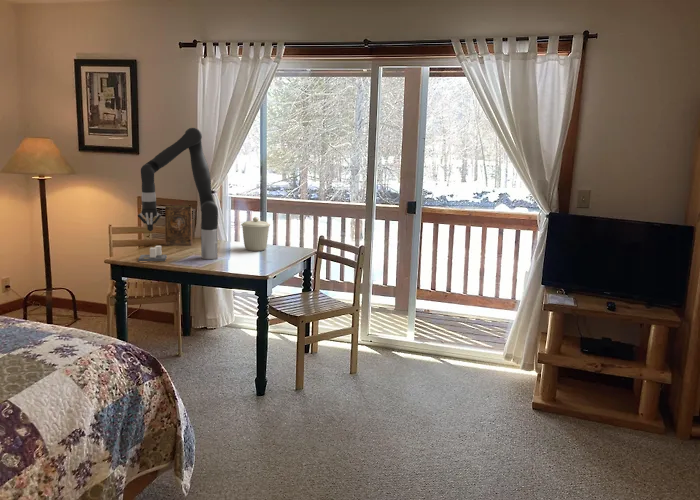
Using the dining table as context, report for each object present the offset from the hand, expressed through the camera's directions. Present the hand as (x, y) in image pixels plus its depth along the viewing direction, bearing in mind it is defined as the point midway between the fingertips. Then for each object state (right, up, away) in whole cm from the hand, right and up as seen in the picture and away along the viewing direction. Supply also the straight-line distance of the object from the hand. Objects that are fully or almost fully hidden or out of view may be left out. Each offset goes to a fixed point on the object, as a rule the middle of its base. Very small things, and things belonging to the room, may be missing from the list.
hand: (150, 230), depth 315 cm
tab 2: (+3, -14, +5) cm, 15 cm away
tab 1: (+2, -15, -1) cm, 15 cm away
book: (+2, -8, +47) cm, 48 cm away
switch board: (+1, -16, +2) cm, 17 cm away
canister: (+52, -11, +42) cm, 68 cm away
